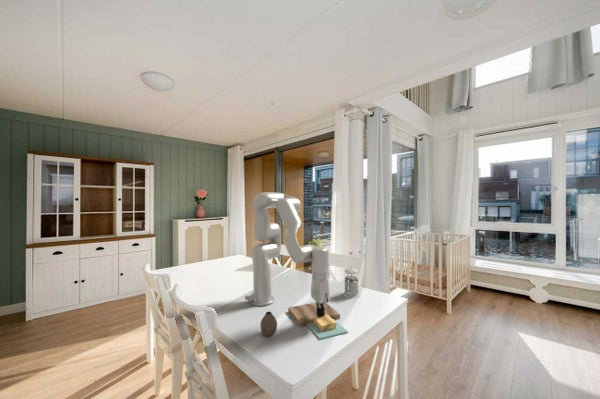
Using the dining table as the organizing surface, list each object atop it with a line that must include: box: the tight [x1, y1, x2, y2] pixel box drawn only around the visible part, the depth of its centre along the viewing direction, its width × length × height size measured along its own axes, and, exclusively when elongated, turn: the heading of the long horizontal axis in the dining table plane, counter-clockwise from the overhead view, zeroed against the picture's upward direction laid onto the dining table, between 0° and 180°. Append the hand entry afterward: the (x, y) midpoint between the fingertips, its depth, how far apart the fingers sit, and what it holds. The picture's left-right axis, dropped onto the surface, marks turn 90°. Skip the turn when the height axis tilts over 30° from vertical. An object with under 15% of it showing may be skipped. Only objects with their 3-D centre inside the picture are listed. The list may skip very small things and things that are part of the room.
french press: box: [342, 251, 361, 299], centre depth 144 cm, size 10×12×25 cm
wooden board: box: [287, 302, 341, 328], centre depth 119 cm, size 20×16×2 cm
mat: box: [307, 319, 349, 341], centre depth 106 cm, size 13×12×1 cm
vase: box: [259, 311, 278, 337], centre depth 102 cm, size 7×7×9 cm
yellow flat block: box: [313, 315, 336, 332], centre depth 107 cm, size 7×8×2 cm
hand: (320, 315), depth 111 cm, fingers closed
